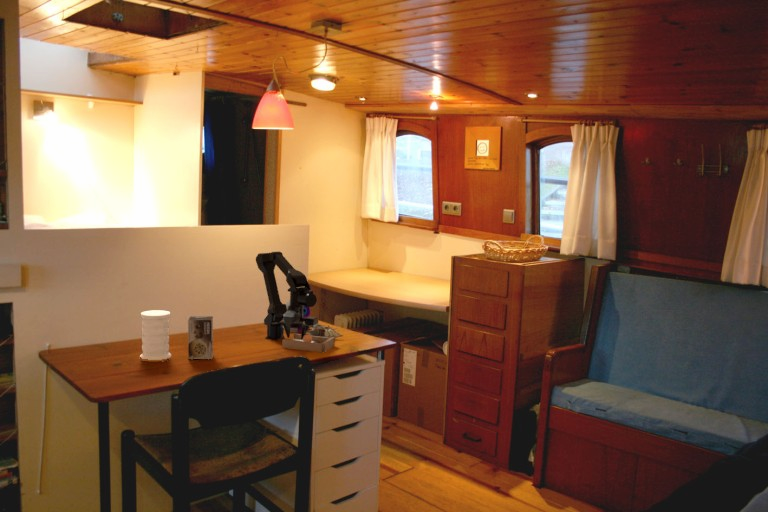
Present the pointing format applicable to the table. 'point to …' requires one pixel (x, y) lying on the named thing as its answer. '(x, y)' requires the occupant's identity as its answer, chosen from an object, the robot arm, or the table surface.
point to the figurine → (323, 331)
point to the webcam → (297, 325)
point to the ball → (307, 338)
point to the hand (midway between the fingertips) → (295, 338)
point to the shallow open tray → (309, 343)
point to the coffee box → (200, 337)
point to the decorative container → (155, 335)
